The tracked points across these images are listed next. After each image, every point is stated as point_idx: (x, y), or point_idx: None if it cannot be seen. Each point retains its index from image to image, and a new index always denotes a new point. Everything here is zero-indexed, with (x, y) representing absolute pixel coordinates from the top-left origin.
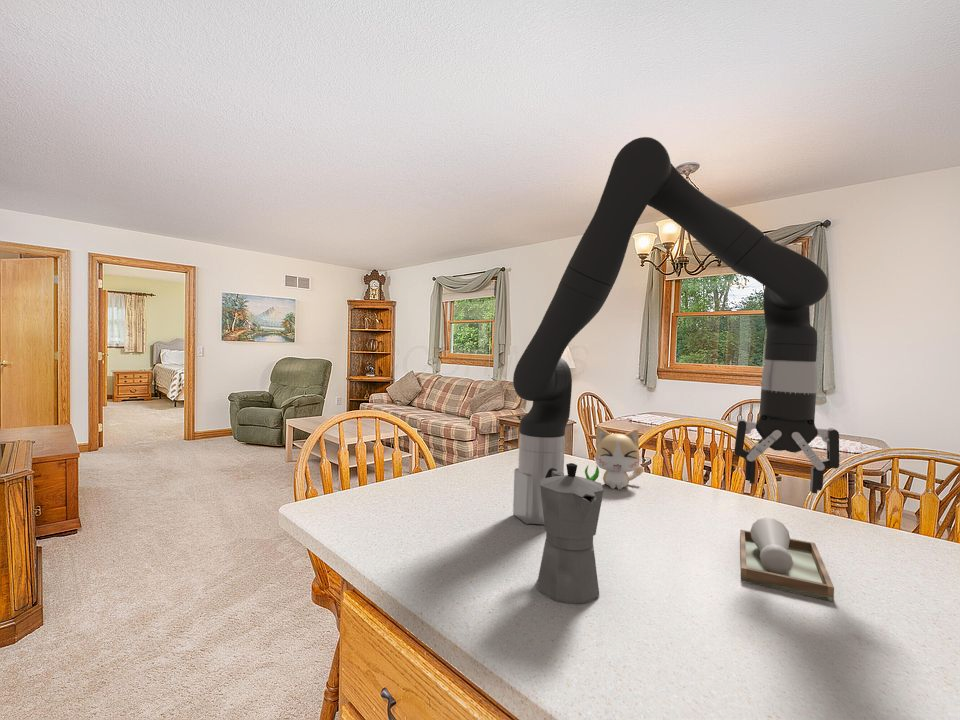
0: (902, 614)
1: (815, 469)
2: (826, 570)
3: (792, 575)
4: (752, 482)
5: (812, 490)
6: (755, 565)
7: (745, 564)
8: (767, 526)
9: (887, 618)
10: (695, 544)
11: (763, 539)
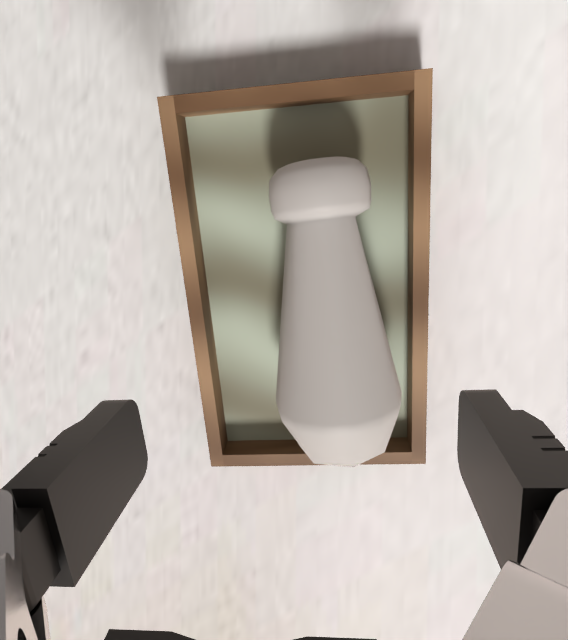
0: (25, 142)
1: (31, 510)
2: (179, 241)
3: None
4: (477, 390)
5: (124, 402)
6: (377, 218)
7: (417, 114)
8: (349, 362)
9: (54, 84)
10: (564, 321)
11: (361, 284)
